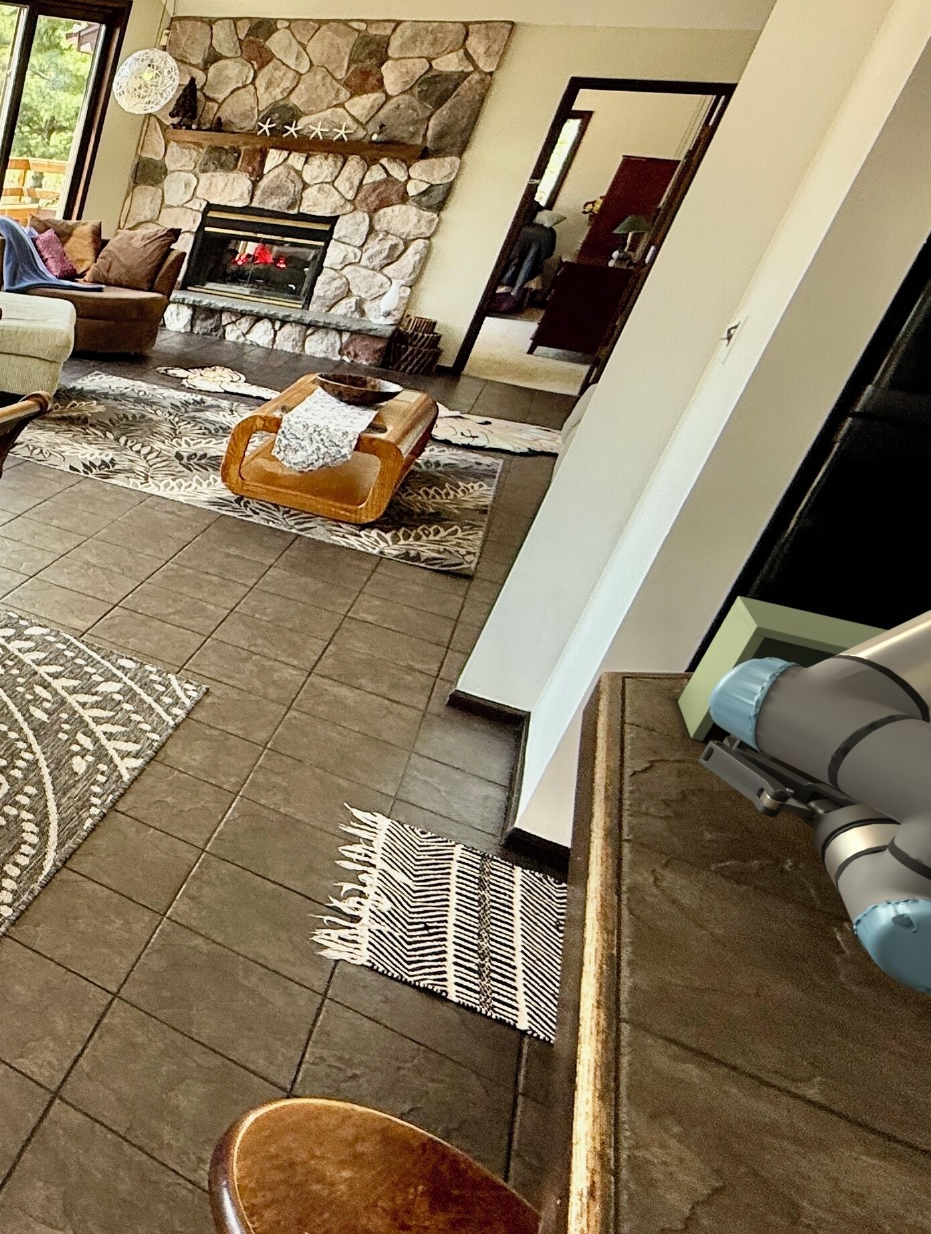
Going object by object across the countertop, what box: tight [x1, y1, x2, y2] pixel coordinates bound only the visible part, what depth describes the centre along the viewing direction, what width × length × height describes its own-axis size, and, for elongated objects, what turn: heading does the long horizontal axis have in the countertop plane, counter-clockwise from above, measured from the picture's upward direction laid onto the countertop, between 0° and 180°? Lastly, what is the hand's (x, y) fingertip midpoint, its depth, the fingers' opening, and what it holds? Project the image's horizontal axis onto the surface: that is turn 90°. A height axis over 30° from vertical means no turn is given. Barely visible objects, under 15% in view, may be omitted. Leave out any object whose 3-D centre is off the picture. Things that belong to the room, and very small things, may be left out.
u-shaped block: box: [677, 595, 888, 742], centre depth 114 cm, size 13×12×15 cm
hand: (830, 760), depth 99 cm, fingers open, 13 cm apart
